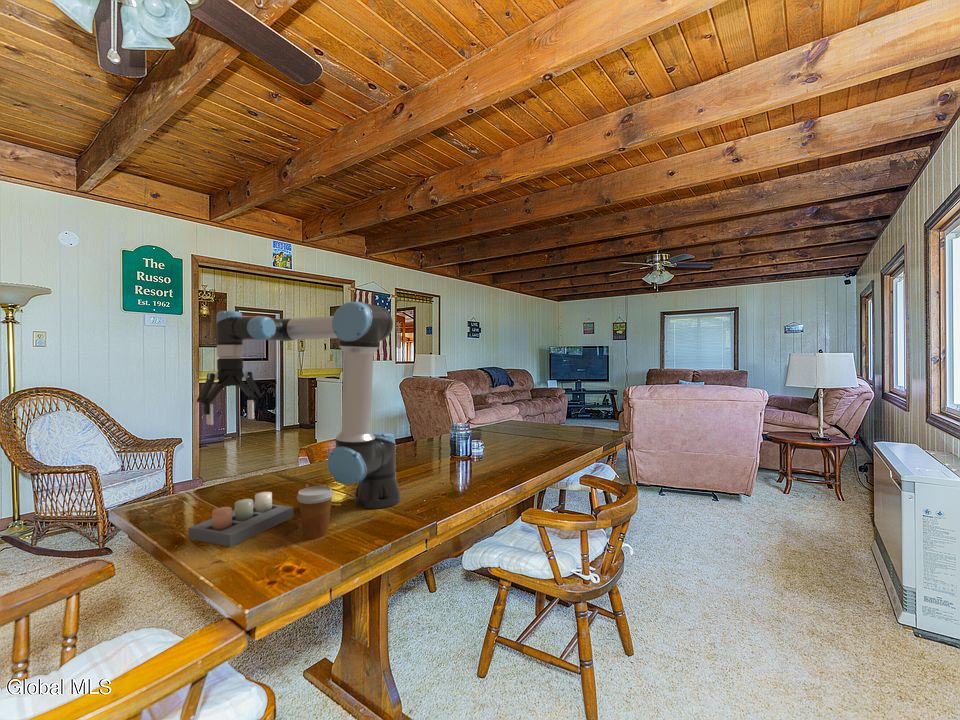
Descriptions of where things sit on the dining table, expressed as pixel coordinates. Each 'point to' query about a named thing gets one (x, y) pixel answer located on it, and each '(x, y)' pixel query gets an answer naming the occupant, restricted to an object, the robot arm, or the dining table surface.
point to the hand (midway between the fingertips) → (231, 421)
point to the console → (241, 526)
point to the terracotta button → (221, 518)
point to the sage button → (243, 509)
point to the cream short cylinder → (263, 502)
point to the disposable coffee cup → (315, 510)
